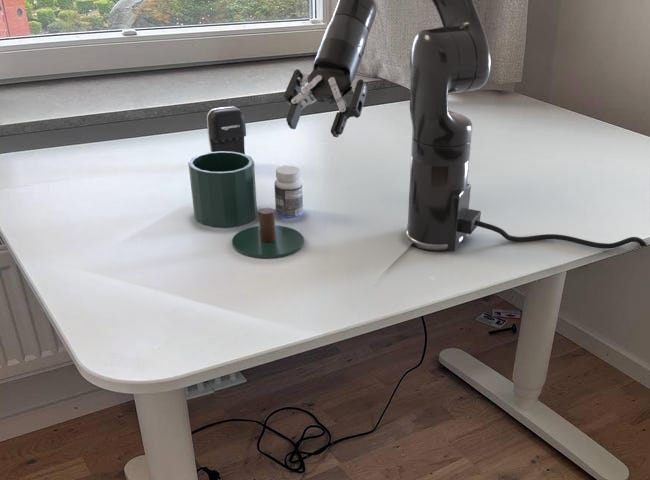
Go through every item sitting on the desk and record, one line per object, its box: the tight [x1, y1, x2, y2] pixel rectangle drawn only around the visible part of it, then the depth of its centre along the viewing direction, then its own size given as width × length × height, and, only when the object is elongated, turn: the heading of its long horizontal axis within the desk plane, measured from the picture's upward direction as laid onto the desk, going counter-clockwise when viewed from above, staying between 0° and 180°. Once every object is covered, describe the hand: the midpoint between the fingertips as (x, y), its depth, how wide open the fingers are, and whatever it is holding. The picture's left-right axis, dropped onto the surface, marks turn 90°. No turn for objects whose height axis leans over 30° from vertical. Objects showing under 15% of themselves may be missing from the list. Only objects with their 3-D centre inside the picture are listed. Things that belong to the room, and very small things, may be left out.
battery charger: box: [206, 106, 247, 154], centre depth 150 cm, size 7×4×11 cm, turn 122°
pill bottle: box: [274, 165, 304, 219], centre depth 133 cm, size 5×5×8 cm
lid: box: [231, 207, 305, 259], centre depth 124 cm, size 11×11×6 cm
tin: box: [187, 151, 258, 229], centre depth 131 cm, size 10×10×10 cm
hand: (312, 130), depth 135 cm, fingers open, 8 cm apart
